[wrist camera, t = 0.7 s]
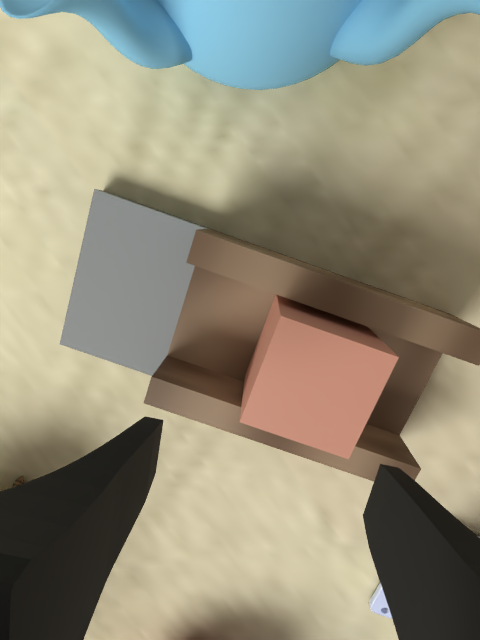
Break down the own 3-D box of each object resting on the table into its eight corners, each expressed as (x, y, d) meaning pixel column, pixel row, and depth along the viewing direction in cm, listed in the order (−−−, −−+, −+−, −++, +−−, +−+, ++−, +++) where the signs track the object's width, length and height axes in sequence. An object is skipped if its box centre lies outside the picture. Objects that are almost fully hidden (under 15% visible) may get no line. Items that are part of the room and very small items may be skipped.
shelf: (209, 228, 20) (206, 228, 19) (164, 371, 22) (160, 378, 21) (102, 190, 20) (94, 188, 19) (68, 338, 22) (59, 344, 21)
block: (365, 324, 20) (399, 357, 15) (328, 404, 21) (348, 459, 16) (276, 292, 19) (280, 315, 15) (244, 375, 21) (239, 422, 16)
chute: (451, 314, 20) (495, 335, 16) (382, 446, 22) (407, 492, 19) (209, 228, 20) (196, 229, 16) (164, 371, 22) (143, 403, 18)
